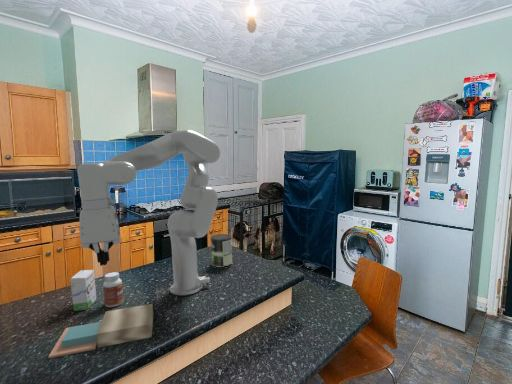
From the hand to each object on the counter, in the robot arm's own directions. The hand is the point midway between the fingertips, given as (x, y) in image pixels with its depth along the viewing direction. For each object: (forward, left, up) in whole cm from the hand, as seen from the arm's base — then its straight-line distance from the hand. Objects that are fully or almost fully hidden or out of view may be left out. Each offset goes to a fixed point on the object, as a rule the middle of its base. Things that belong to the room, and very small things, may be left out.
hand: (104, 263), depth 88 cm
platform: (-6, +4, -20) cm, 22 cm away
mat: (+7, +4, -20) cm, 22 cm away
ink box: (+11, -20, -21) cm, 31 cm away
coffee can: (-44, -43, -21) cm, 64 cm away
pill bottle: (+1, -17, -21) cm, 26 cm away
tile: (+6, +5, -20) cm, 21 cm away
